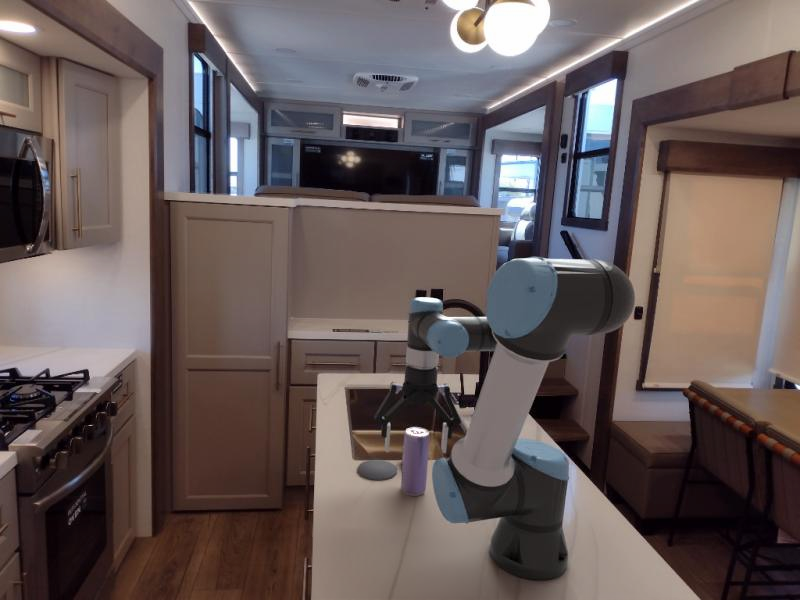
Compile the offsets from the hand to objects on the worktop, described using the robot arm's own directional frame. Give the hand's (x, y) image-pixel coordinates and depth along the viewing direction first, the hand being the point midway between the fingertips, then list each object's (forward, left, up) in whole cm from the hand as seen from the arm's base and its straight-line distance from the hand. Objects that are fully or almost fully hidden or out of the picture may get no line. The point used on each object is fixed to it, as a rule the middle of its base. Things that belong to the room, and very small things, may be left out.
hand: (415, 450), depth 138 cm
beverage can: (0, 0, -10) cm, 10 cm away
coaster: (+10, +8, -10) cm, 16 cm away
